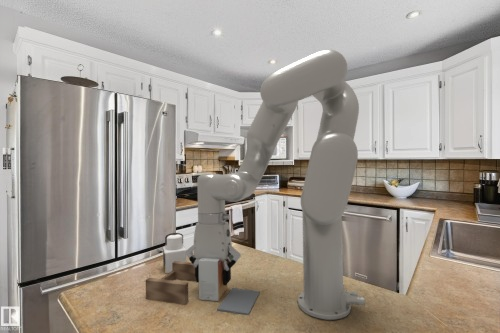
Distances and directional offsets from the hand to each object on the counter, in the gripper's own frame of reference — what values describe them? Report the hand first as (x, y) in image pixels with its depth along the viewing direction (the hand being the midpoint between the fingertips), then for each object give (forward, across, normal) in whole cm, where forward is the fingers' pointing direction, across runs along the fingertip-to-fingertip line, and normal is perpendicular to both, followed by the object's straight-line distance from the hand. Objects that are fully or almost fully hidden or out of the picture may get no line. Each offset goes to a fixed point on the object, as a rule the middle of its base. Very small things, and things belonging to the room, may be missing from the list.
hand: (212, 281), depth 69 cm
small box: (+4, 0, 0) cm, 4 cm away
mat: (+3, -8, +2) cm, 9 cm away
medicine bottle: (+4, +20, -13) cm, 25 cm away
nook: (+3, +11, 0) cm, 11 cm away
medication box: (+4, +6, -20) cm, 21 cm away
